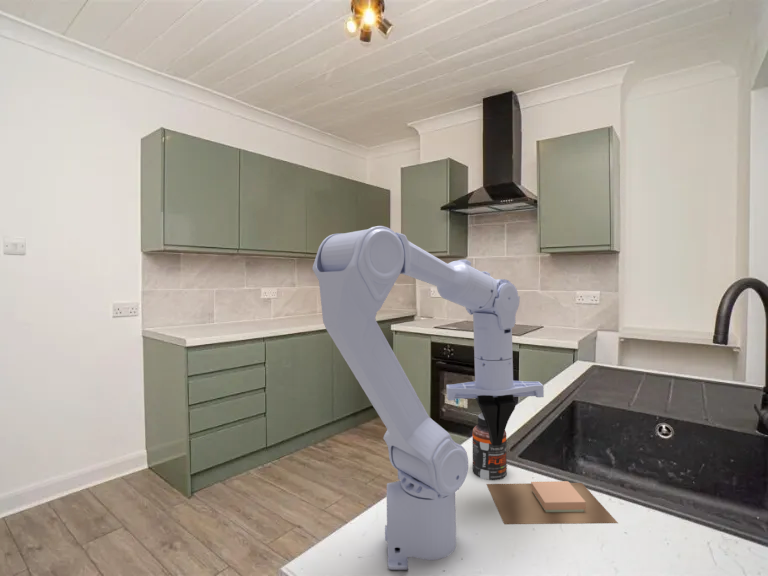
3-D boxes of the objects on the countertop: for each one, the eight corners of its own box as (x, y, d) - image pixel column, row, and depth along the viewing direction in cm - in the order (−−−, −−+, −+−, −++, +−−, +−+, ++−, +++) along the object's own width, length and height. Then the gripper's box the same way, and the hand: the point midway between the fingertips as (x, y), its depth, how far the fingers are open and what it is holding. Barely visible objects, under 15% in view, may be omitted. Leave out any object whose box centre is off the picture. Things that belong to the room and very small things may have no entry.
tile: (544, 502, 60) (585, 502, 60) (531, 481, 66) (568, 481, 66) (545, 513, 60) (585, 512, 60) (531, 491, 66) (568, 491, 66)
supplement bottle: (490, 490, 69) (489, 424, 68) (465, 476, 74) (464, 415, 73) (514, 480, 72) (513, 417, 72) (488, 467, 77) (487, 408, 77)
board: (504, 532, 58) (504, 523, 58) (486, 490, 69) (486, 483, 69) (618, 531, 57) (618, 522, 57) (581, 489, 68) (581, 482, 68)
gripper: (531, 349, 66) (533, 431, 67) (442, 352, 67) (445, 433, 67) (548, 359, 59) (550, 450, 60) (448, 362, 60) (451, 453, 60)
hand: (495, 443), depth 63 cm, fingers closed
